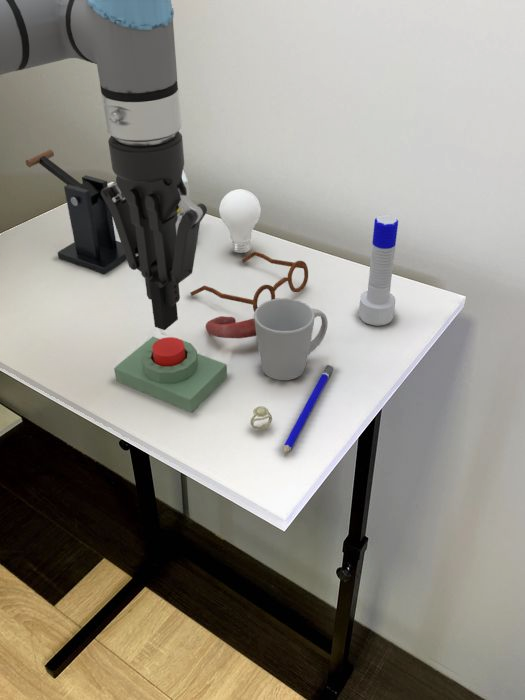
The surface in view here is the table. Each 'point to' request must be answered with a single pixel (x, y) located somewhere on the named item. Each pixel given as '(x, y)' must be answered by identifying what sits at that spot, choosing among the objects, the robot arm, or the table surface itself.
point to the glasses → (272, 289)
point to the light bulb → (240, 217)
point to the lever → (62, 173)
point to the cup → (286, 336)
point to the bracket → (91, 230)
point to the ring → (261, 412)
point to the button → (168, 351)
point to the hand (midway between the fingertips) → (166, 322)
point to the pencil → (307, 409)
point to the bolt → (380, 274)
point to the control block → (172, 376)
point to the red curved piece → (231, 327)
